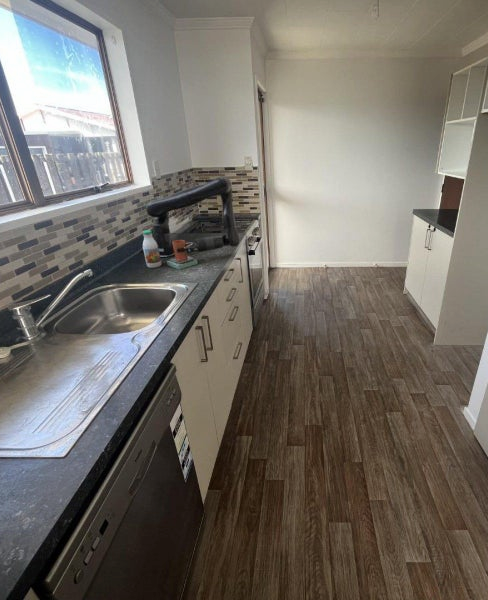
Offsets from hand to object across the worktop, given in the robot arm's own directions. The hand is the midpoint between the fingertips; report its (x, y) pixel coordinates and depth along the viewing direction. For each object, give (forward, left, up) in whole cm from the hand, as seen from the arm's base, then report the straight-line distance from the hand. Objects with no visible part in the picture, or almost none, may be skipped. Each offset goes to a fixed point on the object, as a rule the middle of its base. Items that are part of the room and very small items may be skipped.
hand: (175, 249), depth 182 cm
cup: (+1, +2, -6) cm, 6 cm away
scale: (+1, +2, -9) cm, 10 cm away
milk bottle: (-10, -9, -10) cm, 17 cm away
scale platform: (+1, +2, -7) cm, 7 cm away
